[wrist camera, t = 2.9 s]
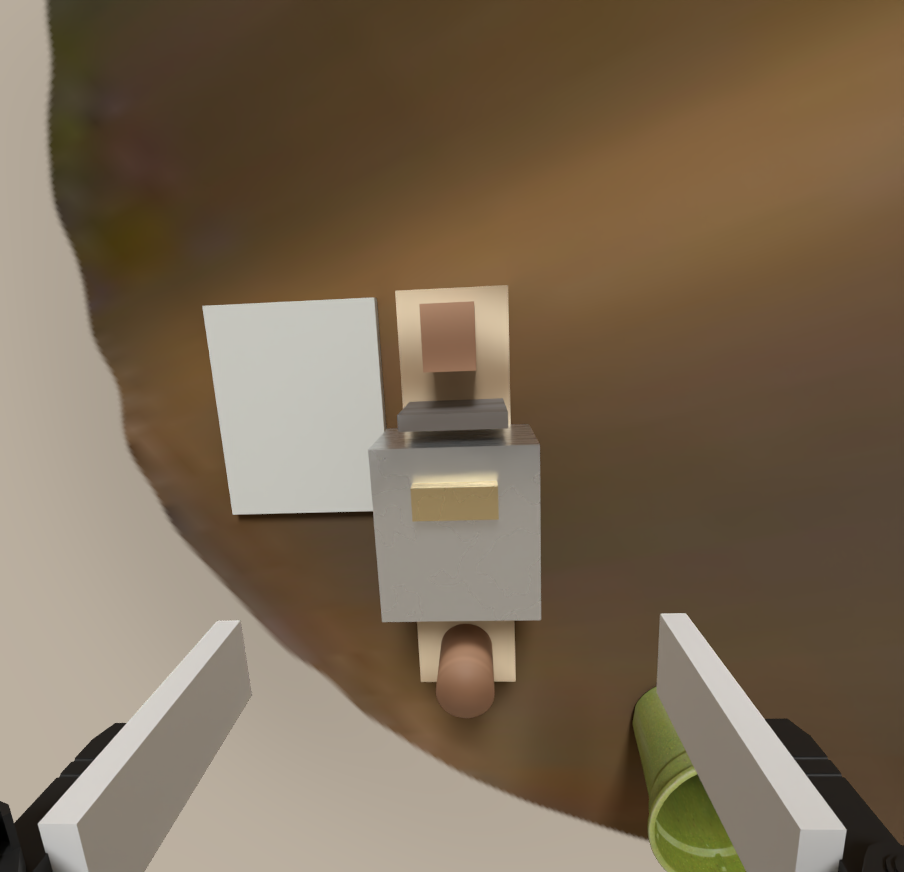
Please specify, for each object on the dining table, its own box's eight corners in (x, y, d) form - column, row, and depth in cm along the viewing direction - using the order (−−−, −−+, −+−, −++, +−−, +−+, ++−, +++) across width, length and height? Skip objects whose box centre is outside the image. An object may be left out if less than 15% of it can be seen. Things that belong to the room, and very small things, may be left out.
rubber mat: (209, 306, 32) (202, 306, 31) (376, 298, 31) (374, 297, 31) (238, 510, 35) (232, 514, 34) (392, 506, 34) (390, 510, 34)
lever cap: (386, 428, 28) (364, 454, 22) (528, 424, 28) (542, 448, 22) (397, 574, 30) (379, 631, 24) (530, 571, 29) (543, 629, 24)
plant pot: (684, 636, 35) (750, 733, 27) (764, 721, 37) (851, 839, 28) (583, 709, 37) (615, 822, 29) (662, 788, 38) (716, 919, 30)
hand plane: (408, 296, 31) (377, 282, 21) (502, 292, 31) (515, 275, 21) (428, 634, 36) (410, 746, 27) (510, 633, 36) (522, 747, 26)
